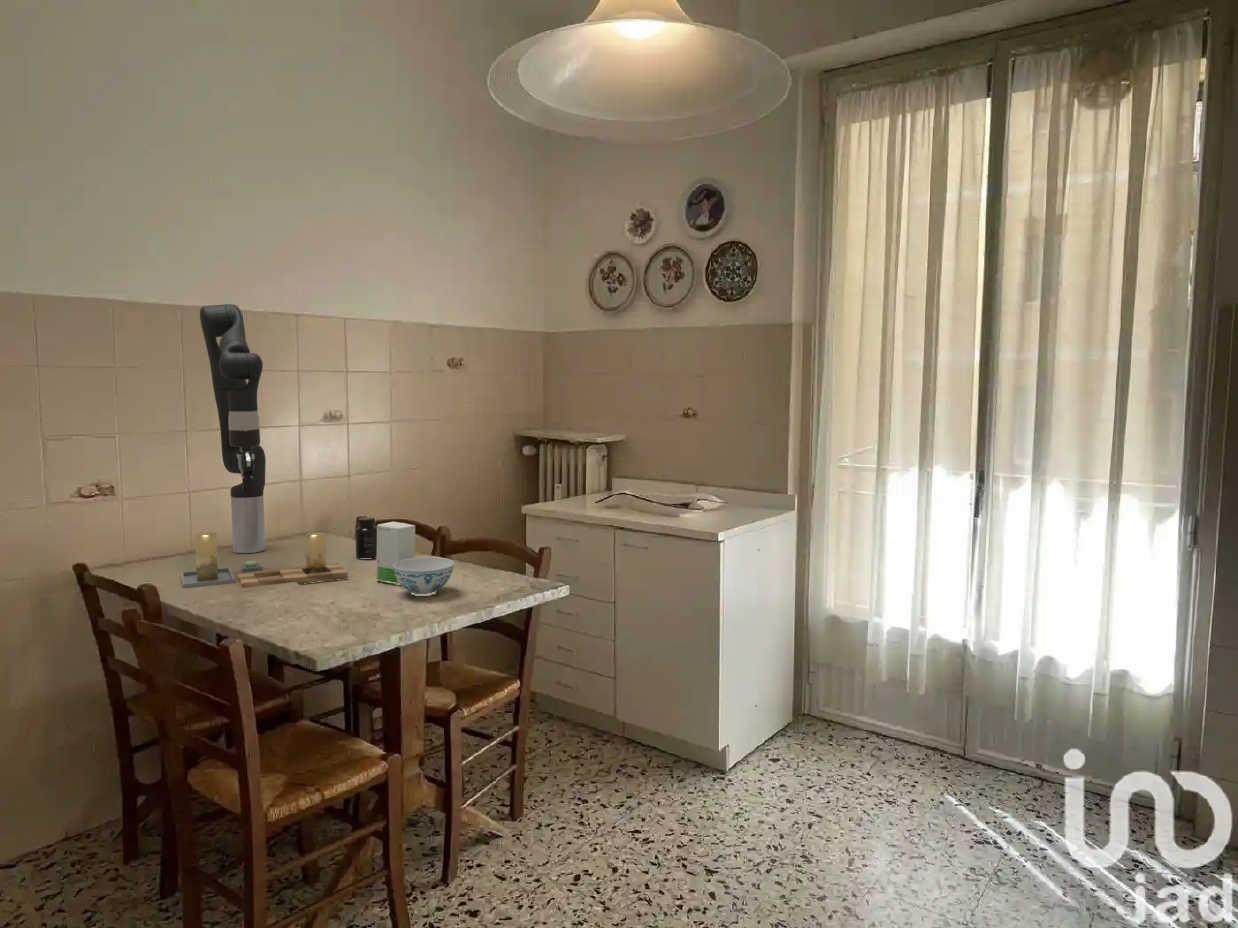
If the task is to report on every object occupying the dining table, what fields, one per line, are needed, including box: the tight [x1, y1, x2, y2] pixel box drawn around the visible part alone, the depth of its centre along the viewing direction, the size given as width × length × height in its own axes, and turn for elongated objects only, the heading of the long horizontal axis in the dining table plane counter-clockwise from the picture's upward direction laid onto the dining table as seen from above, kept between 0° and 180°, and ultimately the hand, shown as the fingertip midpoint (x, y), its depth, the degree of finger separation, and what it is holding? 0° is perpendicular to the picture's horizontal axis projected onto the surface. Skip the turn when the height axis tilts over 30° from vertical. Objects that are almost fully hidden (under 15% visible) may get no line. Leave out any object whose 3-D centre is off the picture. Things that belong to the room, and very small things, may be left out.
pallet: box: [236, 562, 349, 588], centre depth 220 cm, size 12×26×2 cm, turn 120°
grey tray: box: [180, 567, 236, 589], centre depth 216 cm, size 14×12×2 cm
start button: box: [244, 560, 258, 567], centre depth 224 cm, size 3×3×1 cm
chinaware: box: [393, 556, 455, 594], centre depth 208 cm, size 15×15×8 cm
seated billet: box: [304, 531, 327, 574], centre depth 222 cm, size 5×5×12 cm
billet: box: [194, 532, 219, 582], centre depth 215 cm, size 5×5×12 cm
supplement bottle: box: [354, 516, 377, 559], centre depth 247 cm, size 7×7×12 cm
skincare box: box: [375, 521, 416, 583], centre depth 219 cm, size 8×7×16 cm
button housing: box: [239, 562, 263, 573], centre depth 225 cm, size 5×5×2 cm
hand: (247, 491), depth 222 cm, fingers closed
